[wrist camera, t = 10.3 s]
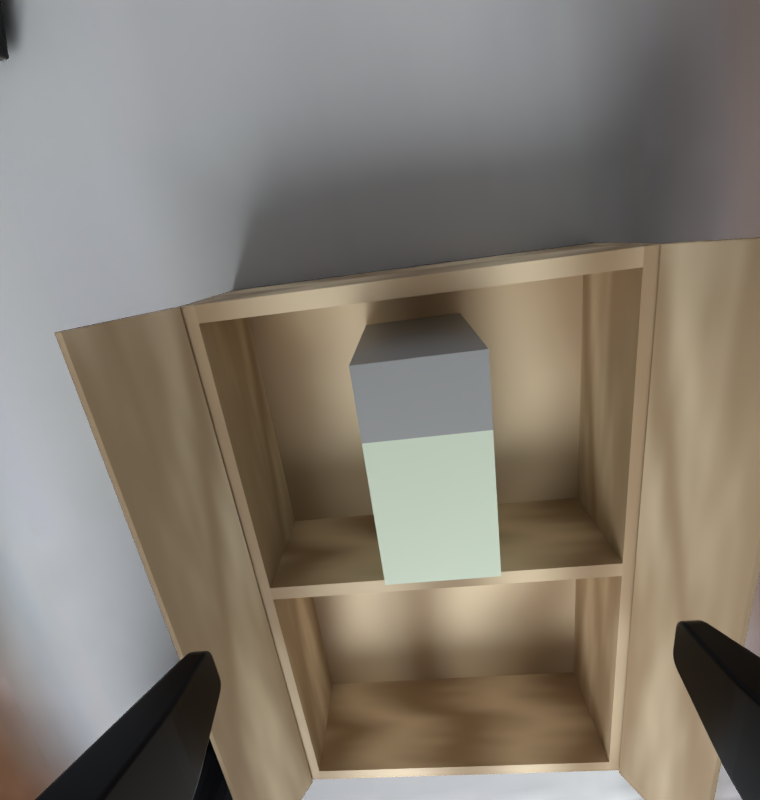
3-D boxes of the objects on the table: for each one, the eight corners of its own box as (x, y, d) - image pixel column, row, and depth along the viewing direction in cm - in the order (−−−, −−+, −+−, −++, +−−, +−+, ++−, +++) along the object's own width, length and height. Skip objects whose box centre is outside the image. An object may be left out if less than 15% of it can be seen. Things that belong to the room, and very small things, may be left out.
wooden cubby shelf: (295, 686, 27) (253, 862, 19) (189, 296, 19) (48, 334, 12) (615, 671, 25) (707, 855, 18) (645, 235, 17) (834, 233, 10)
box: (390, 486, 21) (385, 584, 15) (365, 325, 19) (348, 366, 13) (472, 479, 21) (501, 576, 15) (459, 312, 18) (488, 349, 12)
